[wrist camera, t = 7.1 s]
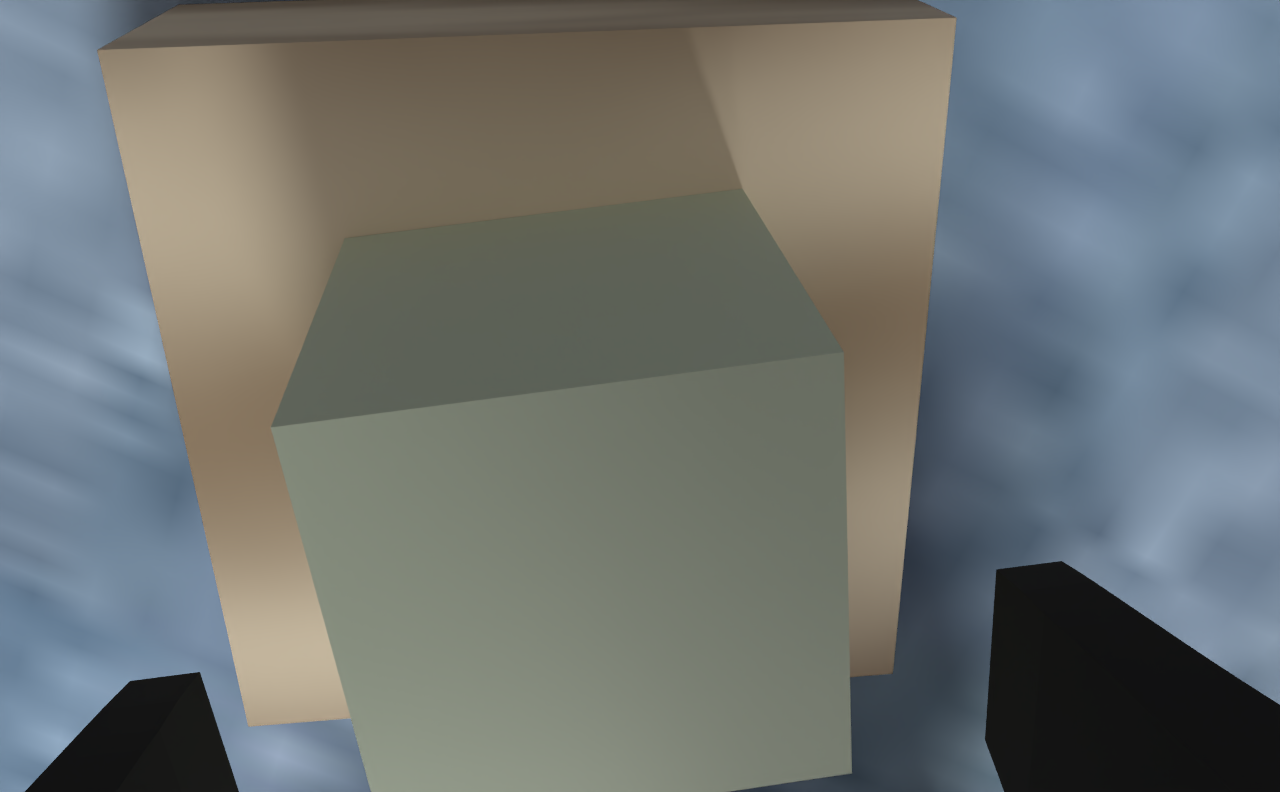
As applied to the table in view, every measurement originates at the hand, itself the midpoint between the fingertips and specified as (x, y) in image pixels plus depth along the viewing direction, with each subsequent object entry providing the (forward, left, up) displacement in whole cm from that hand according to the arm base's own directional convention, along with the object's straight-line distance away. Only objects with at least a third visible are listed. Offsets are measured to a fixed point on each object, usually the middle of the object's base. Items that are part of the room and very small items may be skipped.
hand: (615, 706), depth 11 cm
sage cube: (0, 0, -6) cm, 6 cm away
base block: (0, 0, -10) cm, 10 cm away
